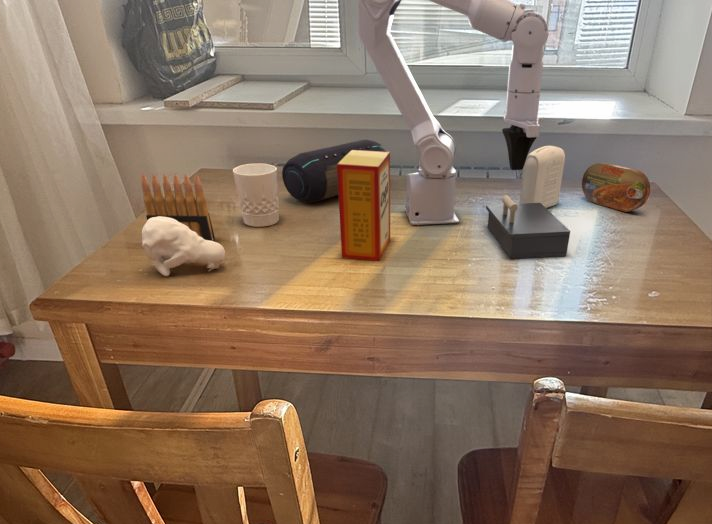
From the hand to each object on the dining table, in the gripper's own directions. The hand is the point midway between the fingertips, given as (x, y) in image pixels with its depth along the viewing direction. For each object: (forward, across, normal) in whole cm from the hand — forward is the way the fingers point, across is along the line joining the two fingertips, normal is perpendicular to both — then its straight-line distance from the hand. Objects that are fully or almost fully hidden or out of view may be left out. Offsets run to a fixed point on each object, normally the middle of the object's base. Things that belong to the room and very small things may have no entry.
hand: (516, 169), depth 109 cm
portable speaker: (+10, +22, +32) cm, 41 cm away
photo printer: (+11, +8, -8) cm, 16 cm away
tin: (+11, +7, -24) cm, 28 cm away
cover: (+7, -10, +1) cm, 12 cm away
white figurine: (+10, -15, +58) cm, 61 cm away
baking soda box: (+10, -10, +30) cm, 33 cm away
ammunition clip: (+10, -3, +62) cm, 62 cm away
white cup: (+10, +6, +48) cm, 50 cm away
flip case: (+10, -10, 0) cm, 14 cm away
